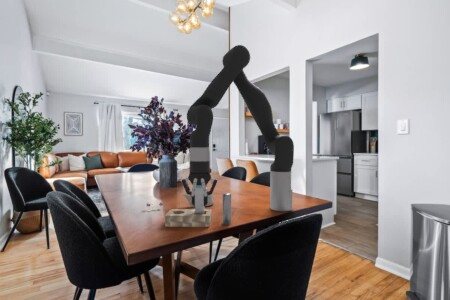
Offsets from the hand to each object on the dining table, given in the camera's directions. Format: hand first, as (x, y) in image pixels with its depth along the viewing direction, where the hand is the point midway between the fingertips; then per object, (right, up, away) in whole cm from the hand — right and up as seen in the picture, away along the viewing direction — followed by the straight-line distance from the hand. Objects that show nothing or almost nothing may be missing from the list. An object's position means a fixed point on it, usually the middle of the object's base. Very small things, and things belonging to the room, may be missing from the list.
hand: (199, 205), depth 89 cm
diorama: (-25, -7, +27) cm, 37 cm away
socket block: (-4, -7, 0) cm, 8 cm away
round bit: (+10, -7, 0) cm, 12 cm away
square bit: (0, -3, 0) cm, 3 cm away
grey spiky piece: (-2, -6, +28) cm, 28 cm away
